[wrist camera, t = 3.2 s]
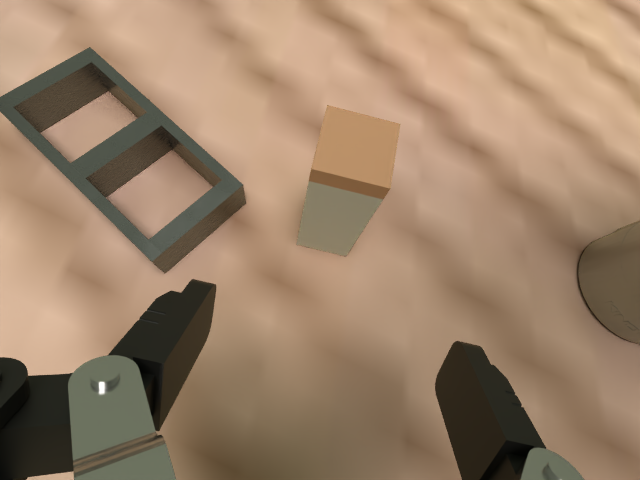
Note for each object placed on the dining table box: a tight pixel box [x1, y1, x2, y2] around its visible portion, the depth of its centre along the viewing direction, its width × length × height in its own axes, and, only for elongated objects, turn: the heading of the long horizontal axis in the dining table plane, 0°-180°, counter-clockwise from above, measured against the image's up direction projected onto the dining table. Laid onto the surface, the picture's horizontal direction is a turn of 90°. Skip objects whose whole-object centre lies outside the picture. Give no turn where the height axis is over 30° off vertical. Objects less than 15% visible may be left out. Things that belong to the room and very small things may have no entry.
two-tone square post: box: [296, 105, 400, 256], centre depth 23 cm, size 4×4×11 cm
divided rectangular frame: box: [0, 47, 246, 273], centre depth 27 cm, size 8×17×3 cm, turn 48°
